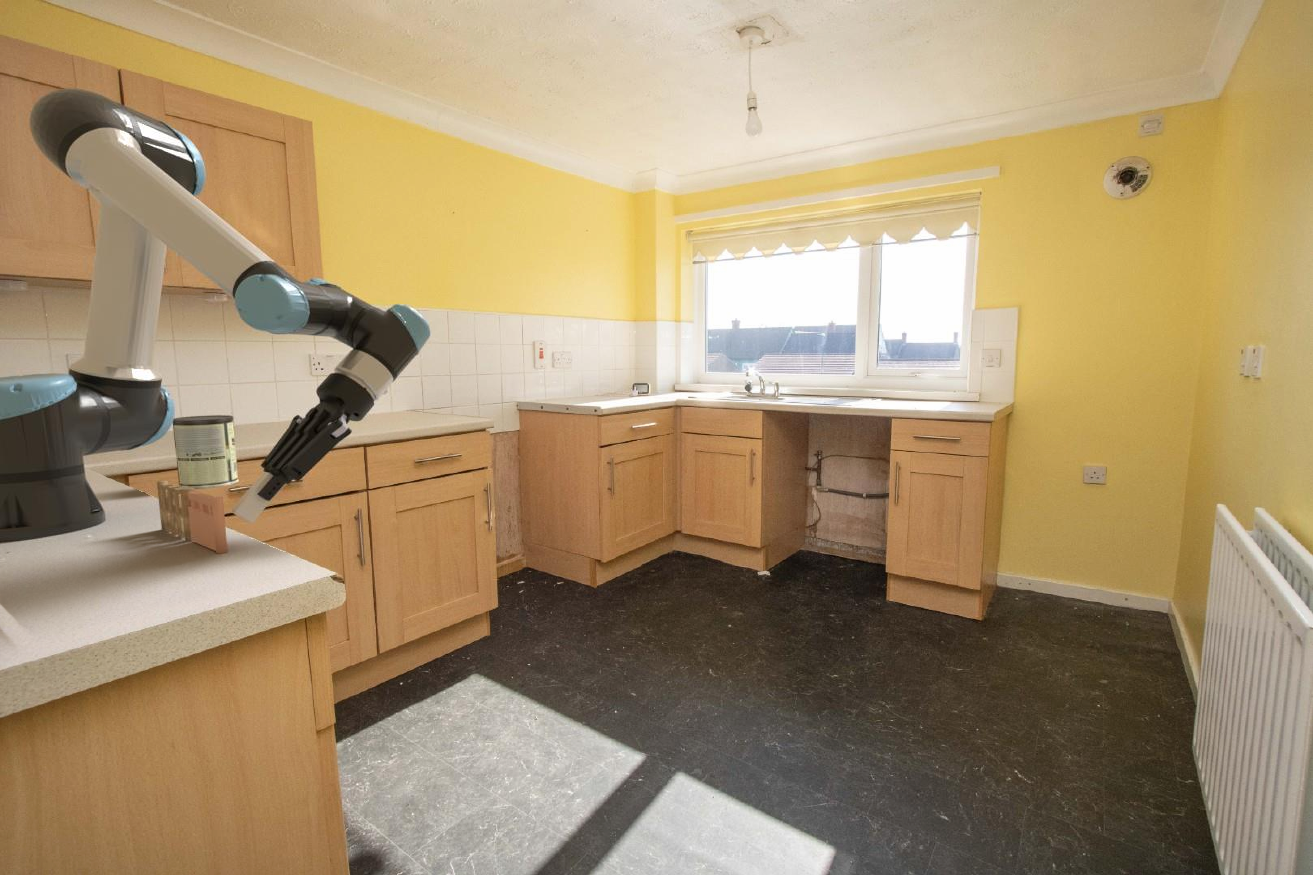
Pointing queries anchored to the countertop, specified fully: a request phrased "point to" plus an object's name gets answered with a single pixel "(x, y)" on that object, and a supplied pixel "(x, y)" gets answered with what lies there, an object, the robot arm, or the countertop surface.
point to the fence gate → (207, 521)
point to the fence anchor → (174, 509)
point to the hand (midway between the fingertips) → (240, 517)
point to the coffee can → (205, 451)
